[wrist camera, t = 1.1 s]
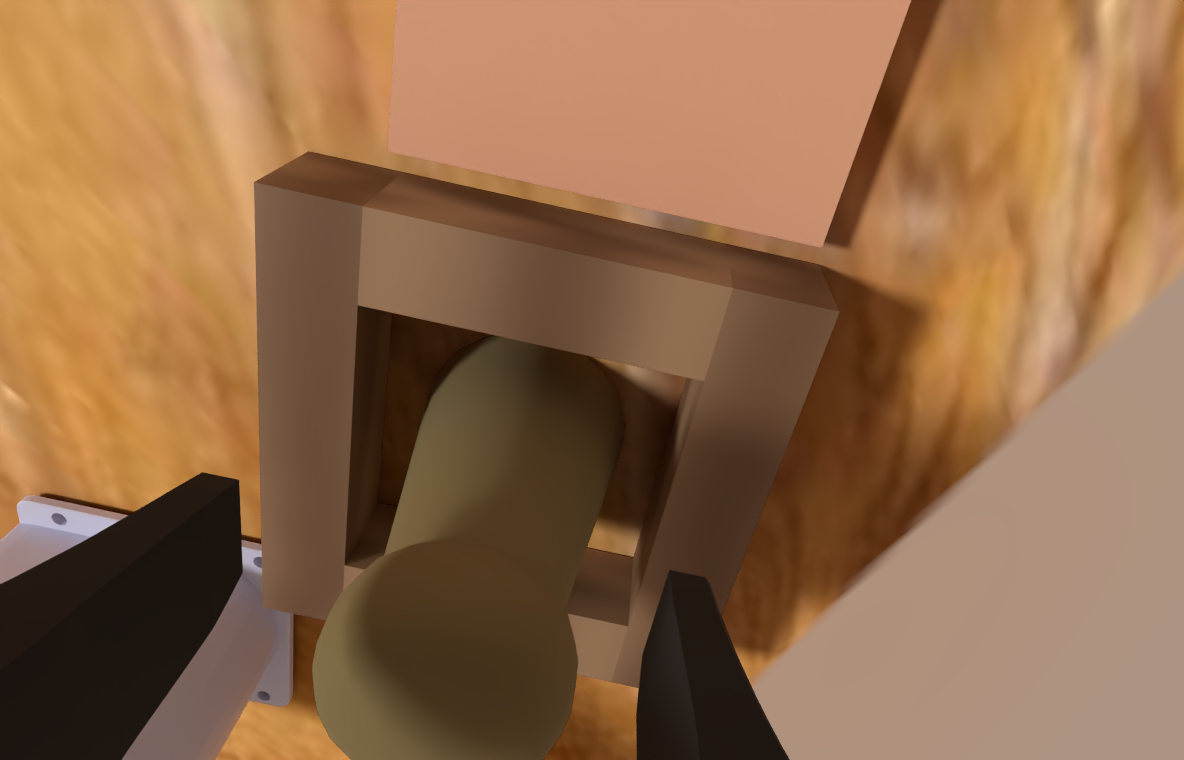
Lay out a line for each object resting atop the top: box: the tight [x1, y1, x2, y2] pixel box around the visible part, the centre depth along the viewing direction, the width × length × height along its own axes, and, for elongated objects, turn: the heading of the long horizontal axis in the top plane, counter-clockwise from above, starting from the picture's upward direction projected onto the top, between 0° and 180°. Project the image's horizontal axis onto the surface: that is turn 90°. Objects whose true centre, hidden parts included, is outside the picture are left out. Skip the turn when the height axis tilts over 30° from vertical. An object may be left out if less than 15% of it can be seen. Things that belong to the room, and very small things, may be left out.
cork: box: [312, 336, 625, 760], centre depth 19 cm, size 6×6×11 cm
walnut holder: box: [254, 152, 840, 688], centre depth 23 cm, size 14×14×3 cm
